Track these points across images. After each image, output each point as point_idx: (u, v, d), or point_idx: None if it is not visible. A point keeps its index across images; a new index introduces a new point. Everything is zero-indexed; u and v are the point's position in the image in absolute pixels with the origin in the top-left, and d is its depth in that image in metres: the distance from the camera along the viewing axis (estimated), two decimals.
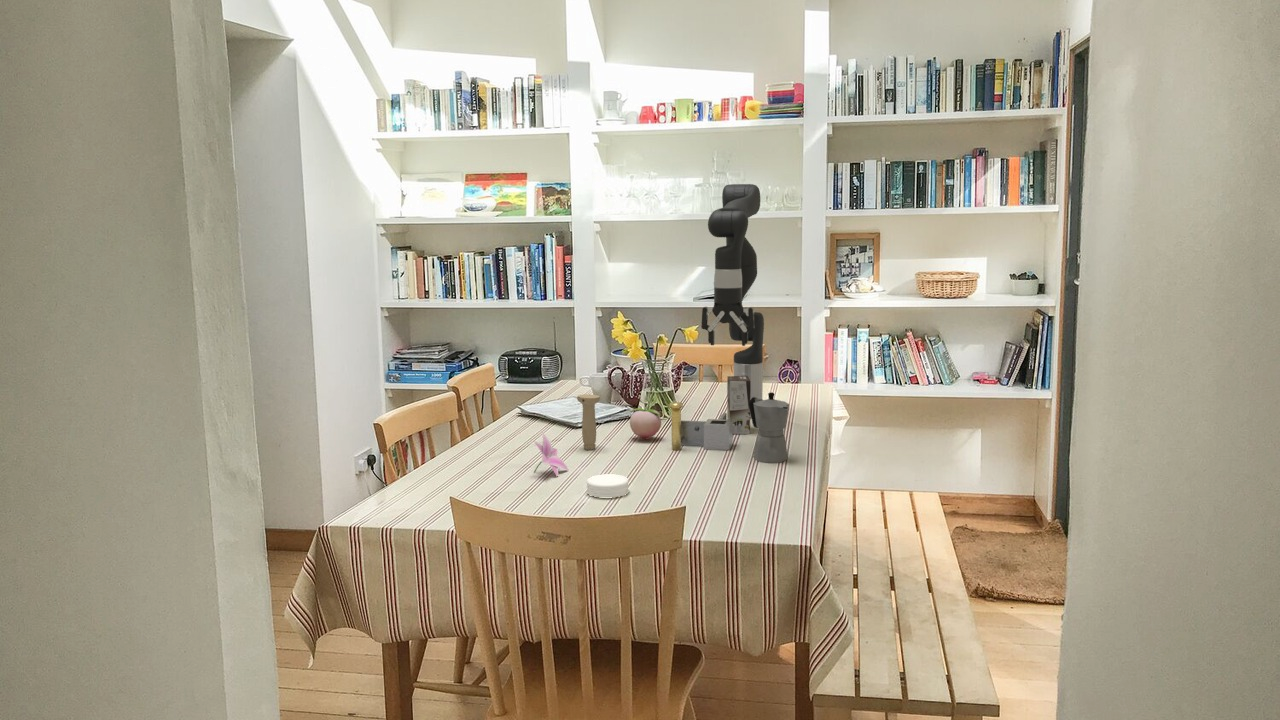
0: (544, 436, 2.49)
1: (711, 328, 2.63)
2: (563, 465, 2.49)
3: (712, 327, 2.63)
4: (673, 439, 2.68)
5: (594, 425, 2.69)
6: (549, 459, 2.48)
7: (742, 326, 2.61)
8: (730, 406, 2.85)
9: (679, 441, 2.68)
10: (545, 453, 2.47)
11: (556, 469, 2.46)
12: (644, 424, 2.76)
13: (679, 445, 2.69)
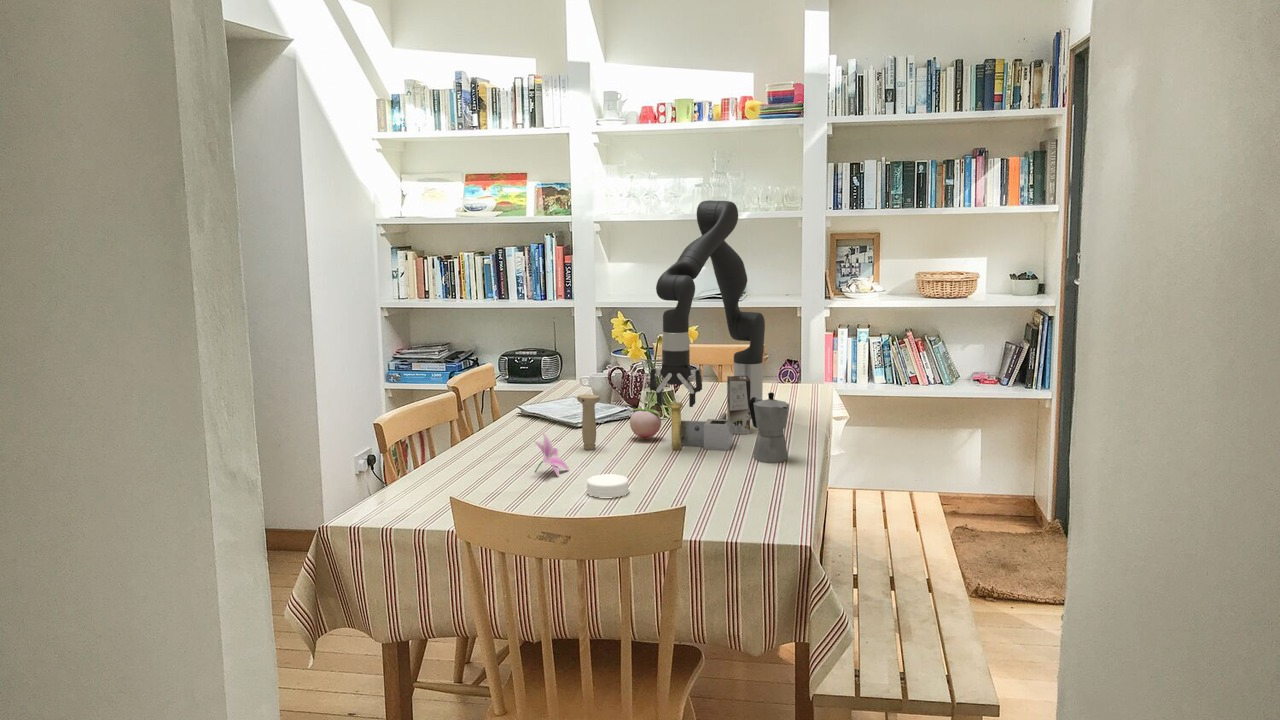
0: (545, 436, 2.49)
1: (659, 389, 2.67)
2: (563, 465, 2.49)
3: (660, 388, 2.67)
4: (673, 439, 2.68)
5: (594, 425, 2.69)
6: (550, 459, 2.48)
7: (689, 388, 2.65)
8: (730, 406, 2.85)
9: (679, 441, 2.68)
10: (546, 453, 2.48)
11: (557, 469, 2.46)
12: (644, 424, 2.76)
13: (679, 445, 2.69)
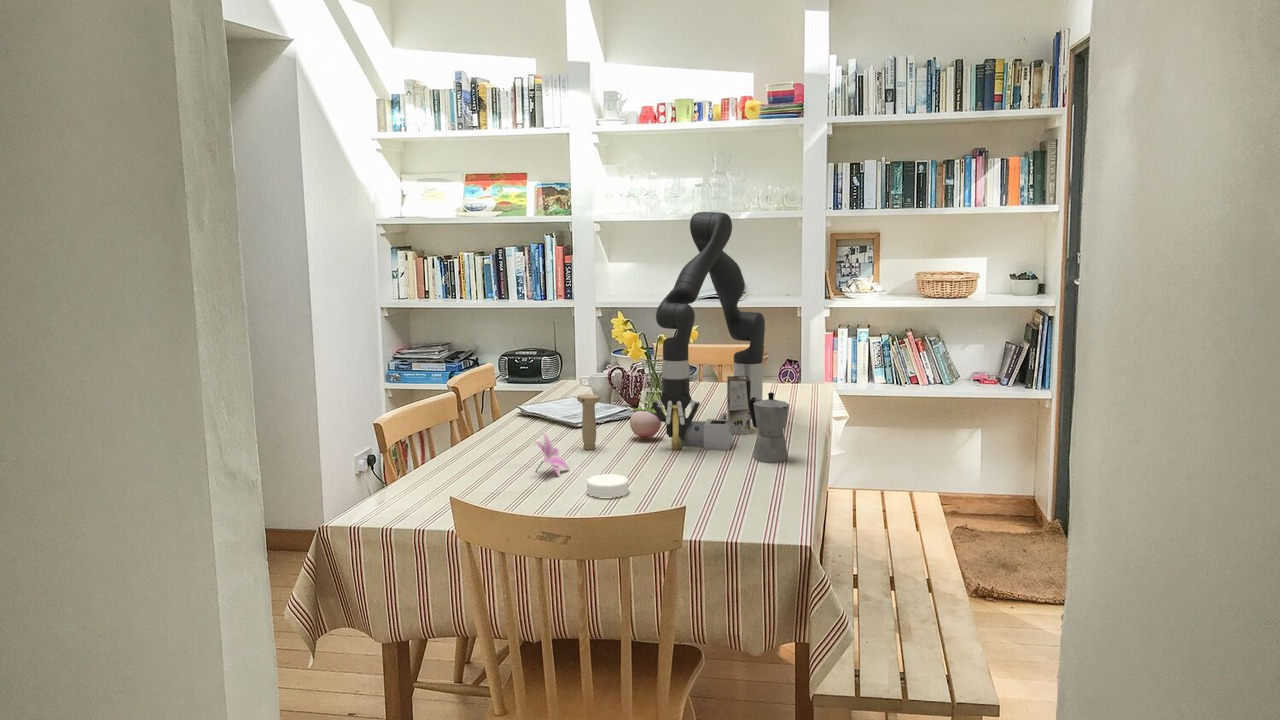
0: (545, 436, 2.49)
1: (668, 420, 2.68)
2: (564, 465, 2.49)
3: (669, 419, 2.68)
4: (673, 439, 2.68)
5: (594, 425, 2.69)
6: (550, 459, 2.48)
7: (682, 418, 2.67)
8: (730, 406, 2.85)
9: (679, 441, 2.68)
10: (546, 453, 2.48)
11: (558, 469, 2.46)
12: (644, 424, 2.76)
13: (679, 445, 2.69)
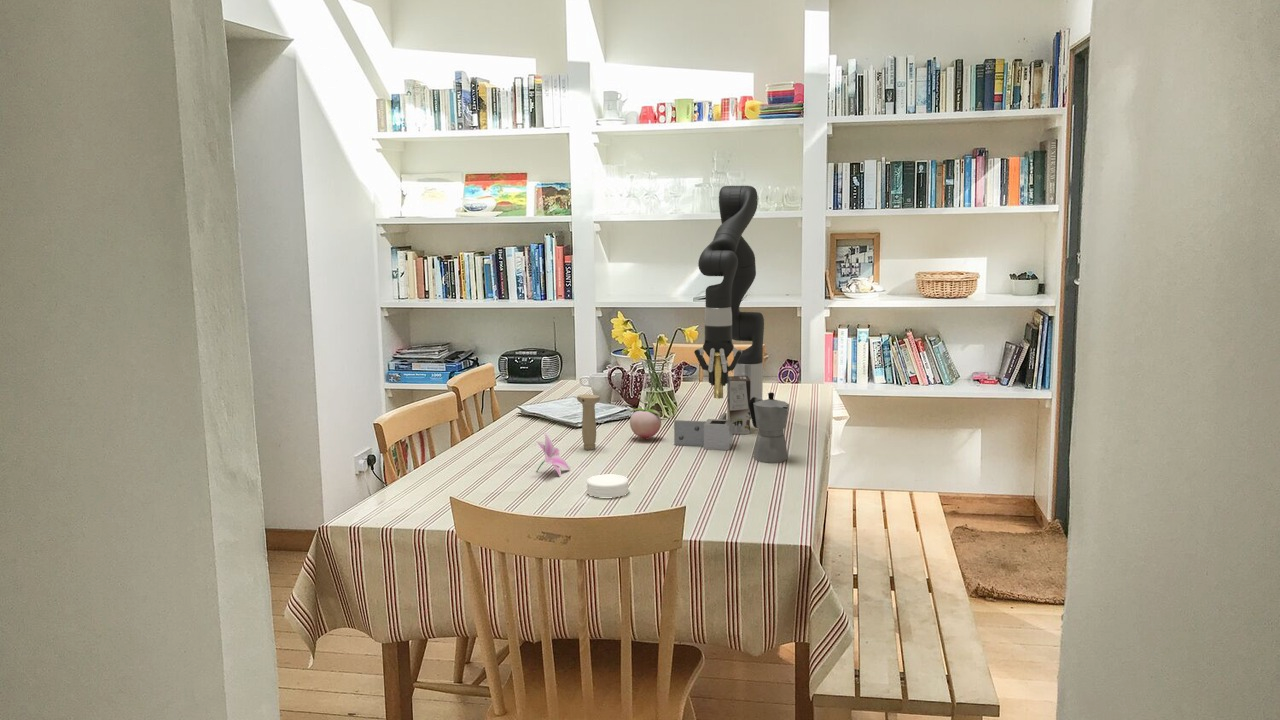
0: (546, 436, 2.49)
1: (711, 368, 2.68)
2: (565, 464, 2.49)
3: (711, 367, 2.68)
4: (715, 387, 2.68)
5: (594, 425, 2.69)
6: (551, 459, 2.48)
7: (724, 366, 2.67)
8: (730, 406, 2.85)
9: (722, 389, 2.68)
10: (547, 453, 2.48)
11: (559, 469, 2.46)
12: (644, 424, 2.76)
13: (721, 393, 2.69)
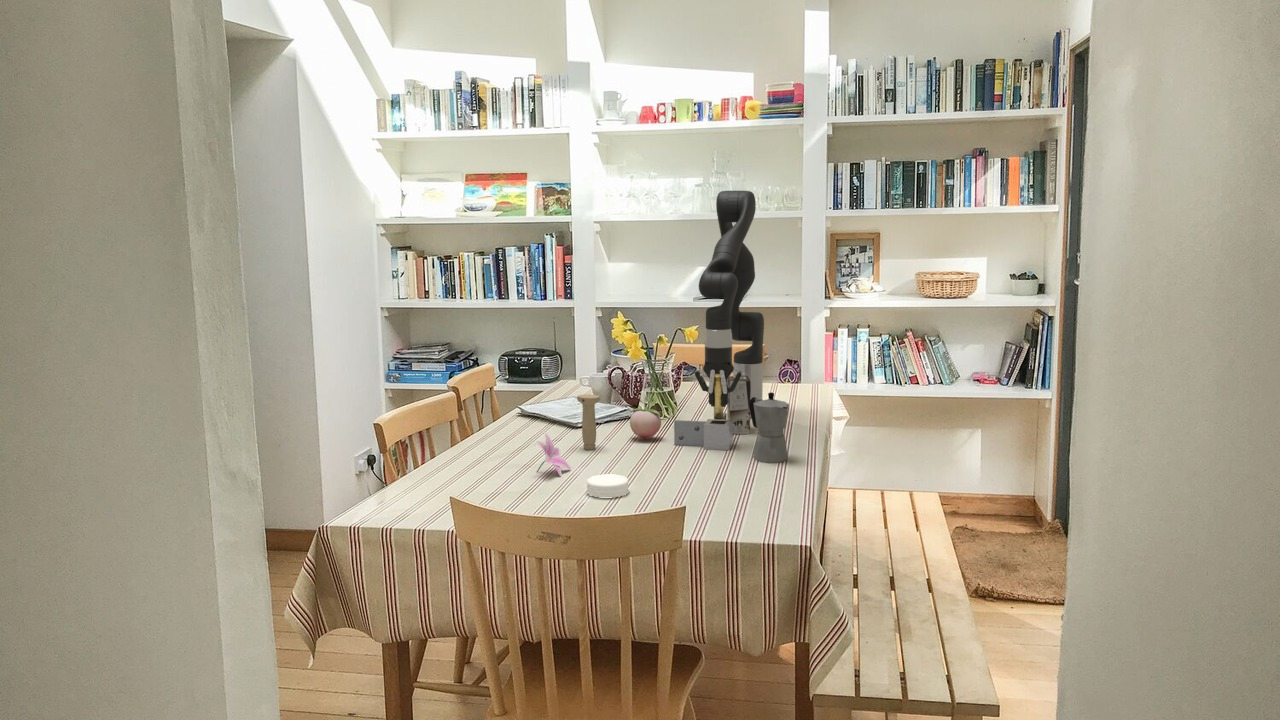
0: (547, 436, 2.49)
1: (711, 389, 2.69)
2: (565, 464, 2.49)
3: (711, 388, 2.69)
4: (715, 408, 2.69)
5: (594, 425, 2.69)
6: (552, 459, 2.48)
7: (724, 387, 2.68)
8: (730, 406, 2.85)
9: (722, 410, 2.69)
10: (548, 453, 2.48)
11: (559, 469, 2.46)
12: (644, 424, 2.76)
13: (721, 414, 2.69)
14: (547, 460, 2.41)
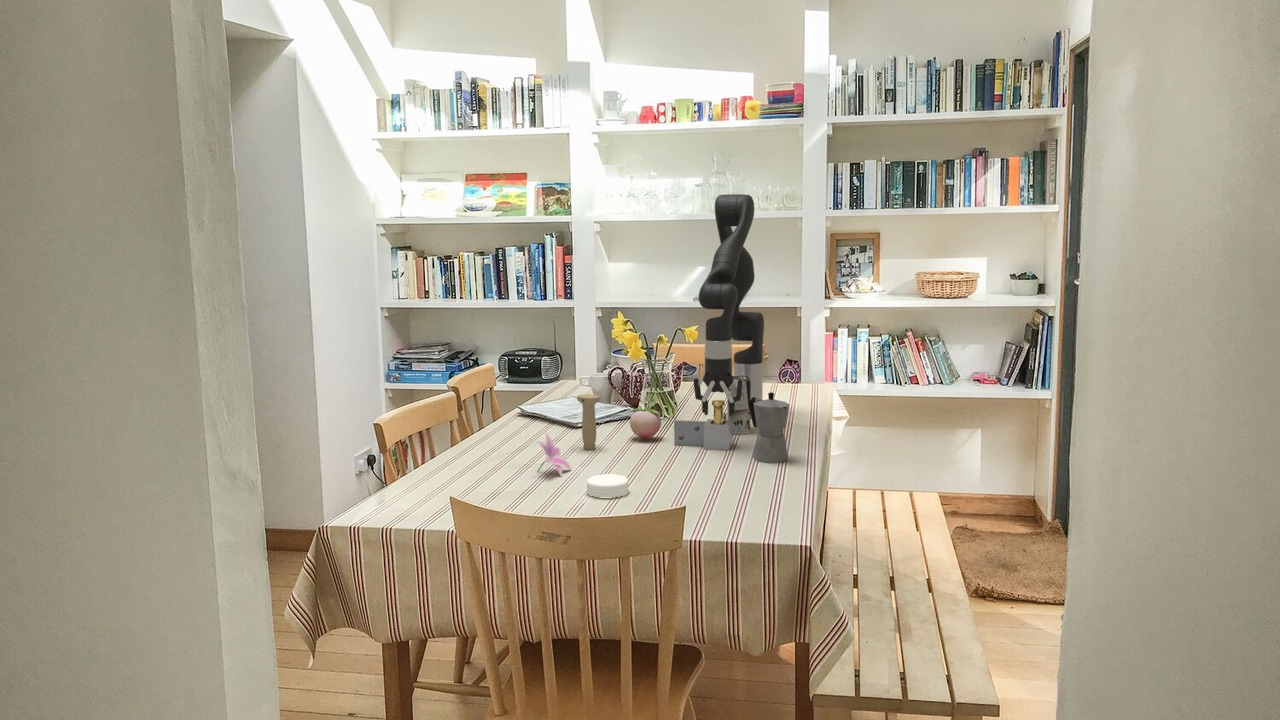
0: (547, 436, 2.49)
1: (705, 398, 2.69)
2: (566, 464, 2.49)
3: (705, 397, 2.69)
4: None
5: (594, 425, 2.69)
6: (552, 459, 2.48)
7: (730, 397, 2.68)
8: None
9: None
10: (548, 453, 2.48)
11: (560, 469, 2.46)
12: (644, 424, 2.76)
13: None
14: (548, 460, 2.41)
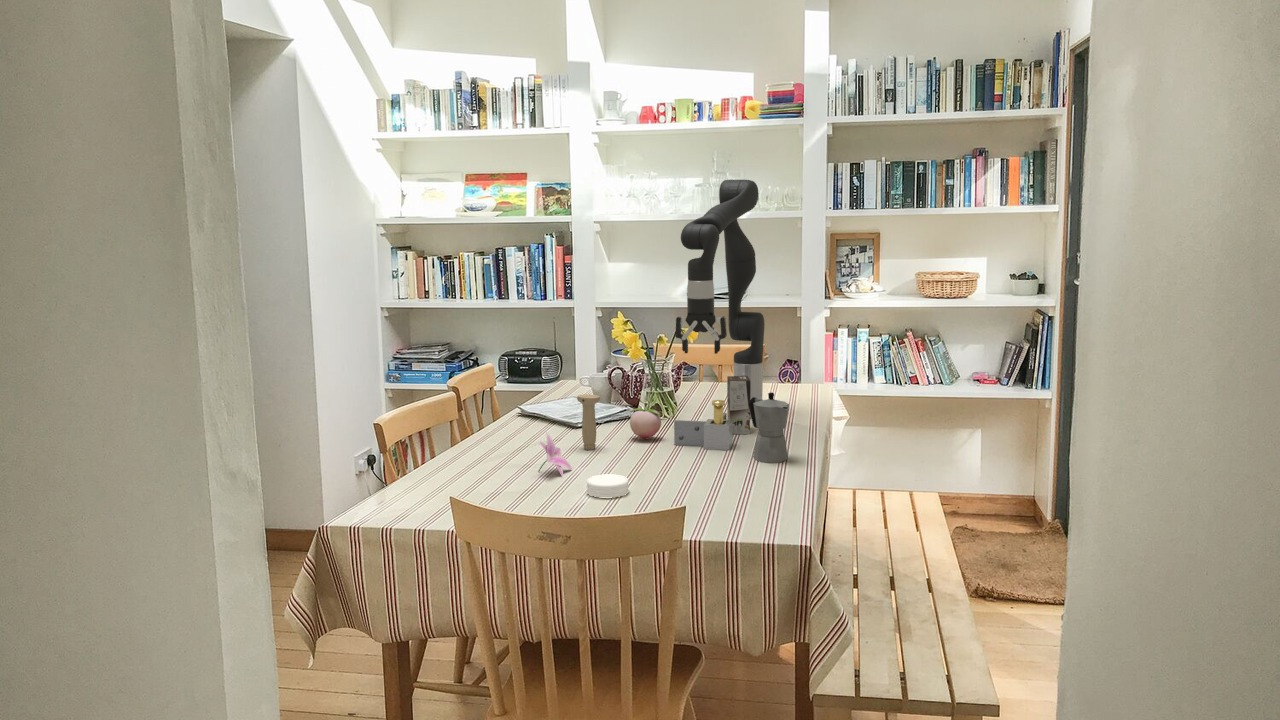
0: (548, 436, 2.49)
1: (685, 337, 2.73)
2: (567, 464, 2.49)
3: (686, 336, 2.73)
4: None
5: (594, 425, 2.69)
6: (553, 459, 2.48)
7: (714, 335, 2.71)
8: (730, 406, 2.85)
9: None
10: (549, 453, 2.48)
11: (561, 468, 2.46)
12: (644, 424, 2.76)
13: None
14: (549, 460, 2.41)
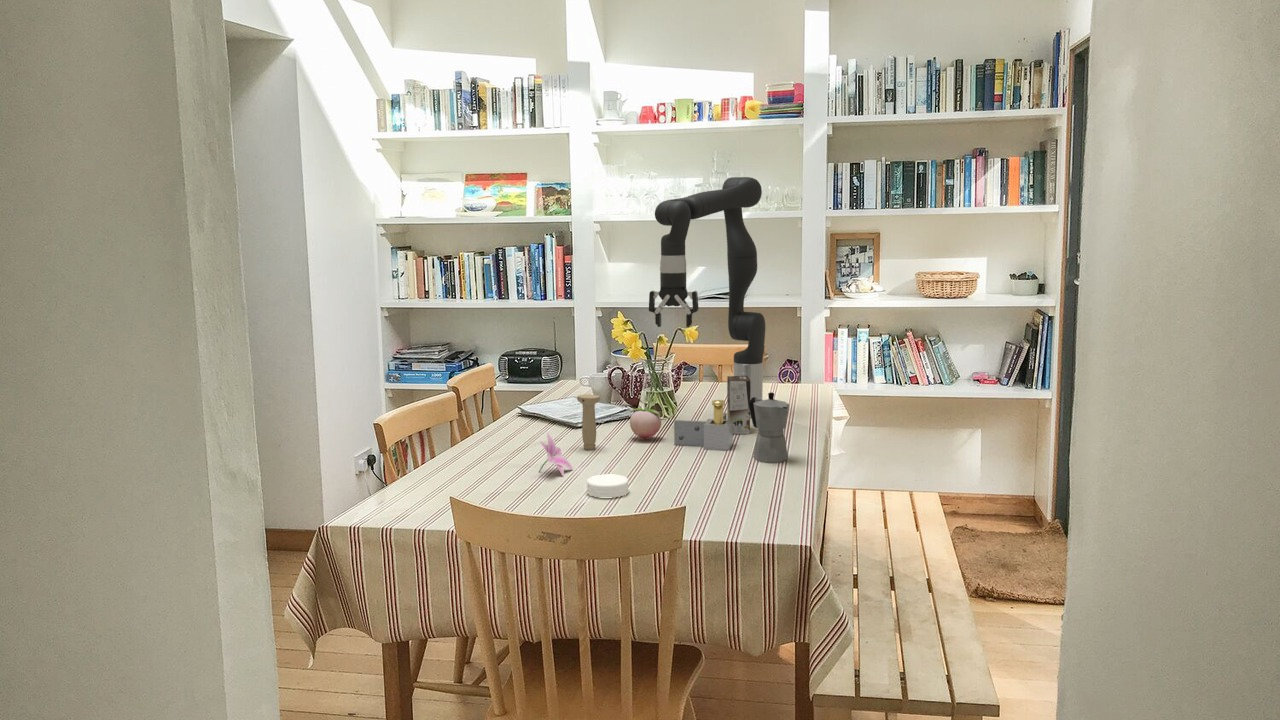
0: (548, 436, 2.49)
1: (658, 311, 2.81)
2: (567, 464, 2.49)
3: (658, 310, 2.81)
4: None
5: (594, 425, 2.69)
6: (554, 458, 2.48)
7: (686, 309, 2.79)
8: (730, 406, 2.85)
9: None
10: (550, 453, 2.48)
11: (561, 468, 2.46)
12: (644, 424, 2.76)
13: None
14: (549, 460, 2.41)
